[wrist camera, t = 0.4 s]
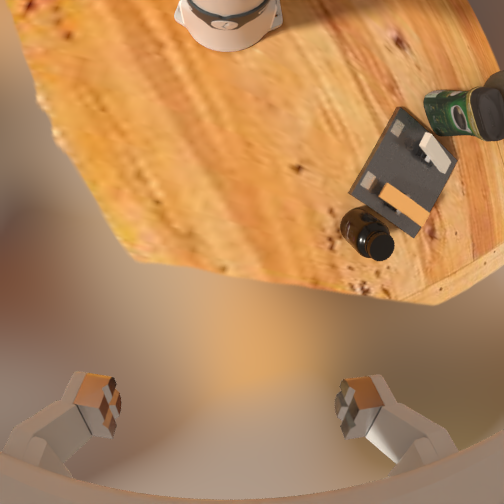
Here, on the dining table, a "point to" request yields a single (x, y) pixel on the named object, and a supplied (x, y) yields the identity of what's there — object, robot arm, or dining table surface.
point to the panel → (401, 171)
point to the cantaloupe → (496, 82)
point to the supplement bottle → (367, 235)
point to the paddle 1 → (404, 204)
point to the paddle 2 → (434, 152)
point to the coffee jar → (466, 113)
